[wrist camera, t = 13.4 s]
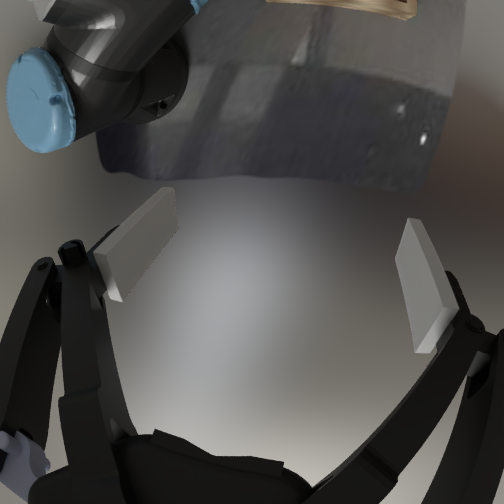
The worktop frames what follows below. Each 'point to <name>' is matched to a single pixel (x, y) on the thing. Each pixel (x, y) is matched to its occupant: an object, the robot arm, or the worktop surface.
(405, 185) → the worktop surface
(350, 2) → the crate
